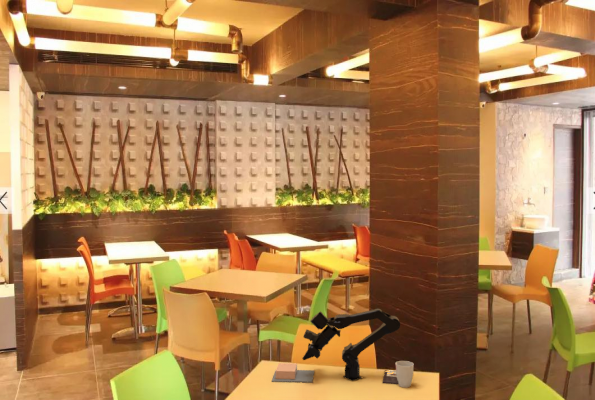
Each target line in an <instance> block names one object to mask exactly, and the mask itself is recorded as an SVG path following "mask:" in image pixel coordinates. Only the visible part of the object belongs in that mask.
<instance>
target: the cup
mask: <svg viewBox="0 0 595 400" xmlns="http://www.w3.org/2000/svg"><path fill="white" fill-rule="evenodd" d="M395 371H396V376H397V381H398V384H397V385H398V387H400V388H410V387H411V385H412V381H413V376H414V362H412V361H408V360H399V361H396V362H395Z"/></svg>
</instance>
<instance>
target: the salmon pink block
mask: <svg viewBox="0 0 595 400" xmlns="http://www.w3.org/2000/svg"><path fill="white" fill-rule="evenodd" d="M275 370H276V379H295V377H296V373H297V370H298V363H295V362H294V363H293V362H292V363H290V362H289V363H288V362H285V363H284V362H283V363H282V362H279V363H278V364H277V366H276V369H275Z"/></svg>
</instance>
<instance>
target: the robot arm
mask: <svg viewBox="0 0 595 400" xmlns="http://www.w3.org/2000/svg"><path fill="white" fill-rule="evenodd" d="M375 319H378V320H379V321H381V322H382V324H381V325H380V326H379V327H378V328H376V329H375V330H374V331H373V332H371V333H369V334H368V335H367V336H366V337H364V338H363V339H361V340H360V341H358V342H357V343H355V344H352V342H350V343H349V344H348V345H346V346H344V347H343V350H342V351H341V358H342V361H343V362H344V363H345V368H344V375H343V378H344V379H347V380H350V381H355V380H359V379H362V378H363V377H362V376H361V375H360V372H361V371H360V362H359V357H358V356H359V355H360V354H361V353H362V352H364V350H366V349H367V348H369V347H370V346H371V345H373V344H375V343H376V342H377V341H379V340H380V339H382V338H384V337H385V336H386V335H391V334H392V333H396V331H397V332H398V330H399V329H400V328H401V322H400V320H399V318H398V317H397V316H396V315H391V314H389V313H387V312H385V311H383V310H382V309H380V308H375V309H370V310H367V311H363V312H357V313H353V314H345V313H343V314H342V313H341V314H340V313H339V314H337V315H335V316H334V317H326V316H325V314H324V313H323V312H322V311H321V310H320V311H318V312H317V313H316V314H314V316H313V317H312V318H311V319H310V323H311V324H312V325H313V326H314V327H315V328H317V330H321V332H317V333H316V332H314V331H312V330H309V329H305V332H304V334H303V338H304V339H307V340H308V341H310V342H311V343H309V342H308V346H307V351H306V352H305V353H304V355H303V357H301V358H302V359H301V360H302V361H305V360H308V359H311V358H314V357H315V358H316V359H319V358H320V356H321V351H323V349H324V348H325V346H326V345H328V344H329V342H330V341H331V340H332V339H333V338H334V337H335V336H336V335H337V336H338V338H340V337H341V331H342V330H343V329H345V328H348V327H349V326H351V325H355V324H357V323H362V322H363V323H364V322H366V321H370V320H375Z"/></svg>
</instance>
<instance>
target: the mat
mask: <svg viewBox="0 0 595 400" xmlns="http://www.w3.org/2000/svg"><path fill="white" fill-rule="evenodd" d="M313 376H315V369H314V370H313V369H297V373H296V377H295V379H276V369H275V370H274V373H273V375H272V379H271V383H300V382H302V383H306V384H309V383H310V384H311V383H312V384H313V381H314V377H313Z"/></svg>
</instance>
